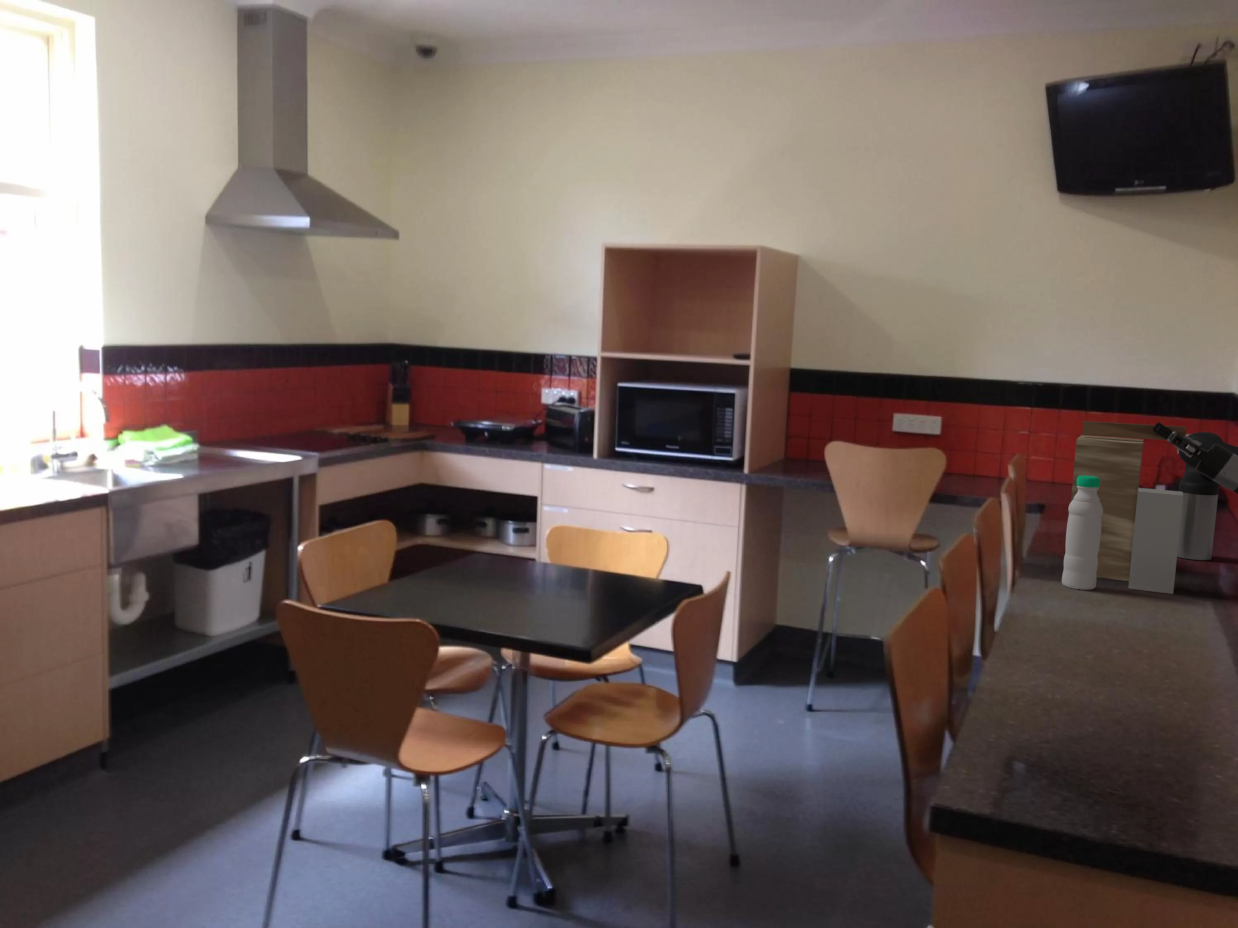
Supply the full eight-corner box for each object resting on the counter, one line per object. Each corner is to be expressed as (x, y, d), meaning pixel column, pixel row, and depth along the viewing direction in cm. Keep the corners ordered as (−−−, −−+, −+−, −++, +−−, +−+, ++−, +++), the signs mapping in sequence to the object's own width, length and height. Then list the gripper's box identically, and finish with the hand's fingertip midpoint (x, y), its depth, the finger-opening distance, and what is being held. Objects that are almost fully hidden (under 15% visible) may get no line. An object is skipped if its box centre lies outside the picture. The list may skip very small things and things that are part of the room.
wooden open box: (1069, 561, 273) (1081, 435, 269) (1130, 568, 267) (1143, 439, 263) (1064, 573, 257) (1076, 439, 253) (1129, 581, 251) (1142, 444, 247)
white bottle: (1094, 585, 244) (1104, 475, 241) (1096, 592, 237) (1107, 479, 234) (1060, 582, 246) (1070, 473, 243) (1062, 588, 239) (1072, 476, 237)
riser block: (1129, 581, 250) (1138, 487, 247) (1172, 587, 246) (1182, 491, 243) (1128, 588, 242) (1137, 491, 240) (1173, 593, 239) (1183, 495, 236)
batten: (1083, 434, 263) (1084, 421, 262) (1184, 440, 253) (1186, 426, 252) (1082, 434, 260) (1083, 421, 259) (1185, 441, 250) (1186, 427, 249)
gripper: (1214, 483, 243) (1144, 440, 249) (1212, 478, 255) (1145, 437, 261) (1236, 455, 241) (1164, 413, 246) (1233, 451, 253) (1165, 411, 259)
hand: (1155, 426), depth 254 cm, fingers closed on batten, 3 cm apart
